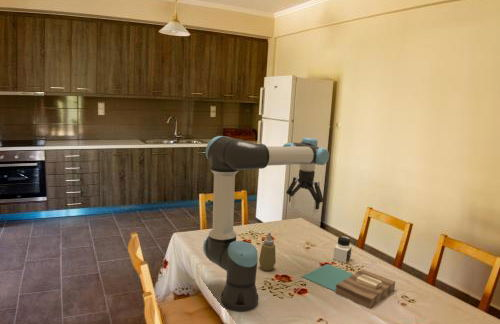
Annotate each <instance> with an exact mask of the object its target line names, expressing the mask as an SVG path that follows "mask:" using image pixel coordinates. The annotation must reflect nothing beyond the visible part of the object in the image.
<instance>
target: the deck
mask: <svg viewBox="0 0 500 324" xmlns="http://www.w3.org/2000/svg"><path fill="white" fill-rule="evenodd" d="M353 274H354V275H352V276H350V277H349V278H347V279H345V280H343V281H342V282H340V283H338V284H337V285H336V292H335V294H336V295H339V296H341V297H343V298H345V299H348V300H349V301H352V302H354V303H357V304H359V305H361V306H363V307H365V308H368V309H372V308H373V307H374V306H376V305H377V304H378V303H379V302H380V301H382V300H383V299H384V298H386V297H387V296H388V295H390V294H391V293H392V292H394V291H395V288H396V281H395V280H392V279H389V278H387V277H384V276H382V275H378V274H376V273H373V272H370V271H368V270H366V269H363V268H362V269H361V270H359V271H357V272H355V273H353ZM362 274H364V275H367V276H369V277H372V278H374V279H377V280H380V281H382V285H381V286H380V287H379V288H377V289H376V290H374V289H372V288H369V287H367V286H364V285H362V284H359V283H357V282H356V278H357V277H359V276H361V275H362Z"/></svg>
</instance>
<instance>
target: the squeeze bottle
mask: <svg viewBox="0 0 500 324" xmlns="http://www.w3.org/2000/svg"><path fill="white" fill-rule="evenodd" d="M274 242H275V240H274V239H272V233H271V232H268V233H267V236H266V238H265V239H264V241H263V243H262V244H261V248H260V253H259V258H258V262H259V266H260V269H261V270H263V271H266V272H267V271H268V272H269V271H273V269H274V267H275V265H276V262H277V260H276V256H277V255H276V245H275V243H274Z"/></svg>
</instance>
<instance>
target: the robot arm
mask: <svg viewBox="0 0 500 324" xmlns="http://www.w3.org/2000/svg"><path fill="white" fill-rule="evenodd" d="M205 156H206V159H207V160H208V162H210V171H211V172H212V173H213V198H212V199H213V200H212V201H213V203H212V229H211V230H210V231H209V232H208V235H207V237H206V239H205V240H204V241H203V246H202V248H203V249H202V250H203V253H204V256H205V257H206V258H207V259H208V260H209V261H210V262H212V263H213V264H215V265H217V266H219V267H220V268H221V269H223V270H224V271H226V279H225V280H226V281H225V285H224V287H223V290H222V291H221V294H220V304H221V305H222V306H223V307H225V308H226V309H228V310H229V311H234V312H249V311H252V310H254V309H256V308H257V307H258V305H259V299H260V298H259V294H258V291H257V286H256V282H257V281H256V279H257V270H258V262H259V258H258V249H257V248H256V246H255V245H253V244H252V243H250V242H248V241H243V240H237V232H236V231H235V230H234V217H235V215H234V214H235V189H236V188H235V187H236V185H235V184H236V174H237V173H238V172H239V171H244V170H245V171H246V170H259V169H266V168H267V167H268V166H284V165H285V166H286V165H288V166H290V165H299V166H298V167H299V170H298V176H295V177H293V178H292V182H291V184H290V185H289V187H288V188H287V190H286V194H287V195H289V198H288V201H289V202H288V203H289V210H292V209H295V201H296V196H295V194H296V193H297V192H298V191H300V189H305V190H307V191H308V192H309V193H310V195H311V197H312V198H313V200H314V202H313V207H312V208H313V209H312V216H313V217H315V216H317V215H318V210H319V209H320V205H321V203H323V202H324V197H323V194H322V190H321V187H320V181H314V179H315V173H316V172H315V171H316V165H318V166H325V164H327V163H328V162H329V159H330V152H329V151H328V149H327V148H325V147H322V146H318V139H317V138H314V137H302V140H301V142H286V143H284V144H283V146H267V145H266V144H265V143H256V142H252V141H251V142H250V141H247V140H244V139H239V138H234V137H231V136H225V135H217V136H215V137H213V138H211V140H210V141H209V142H207V145H206V147H205ZM297 183H298V184H297ZM295 186H296V187H295Z"/></svg>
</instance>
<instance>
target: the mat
mask: <svg viewBox="0 0 500 324" xmlns="http://www.w3.org/2000/svg"><path fill="white" fill-rule="evenodd" d="M354 274H355V273H352V272H349V271H346V270H345V269H341V268H339V267H336V266H334V265H331V264H328V263H326V264H324V265H322V266H320V267H318V268H316V269H314V270H312V271H310V272H308V273H305V274H304V275H302V276H301V278H303V279H306V280H307V281H310V282H312V283H314V284H317V285H319V286H321V287H323V288H326V289H328V290H330V291H333V292H334V293H336V285H337V284H338V283H340V282H342V281H343V280H345V279H347V278H349V277H350V276H352V275H354Z"/></svg>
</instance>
